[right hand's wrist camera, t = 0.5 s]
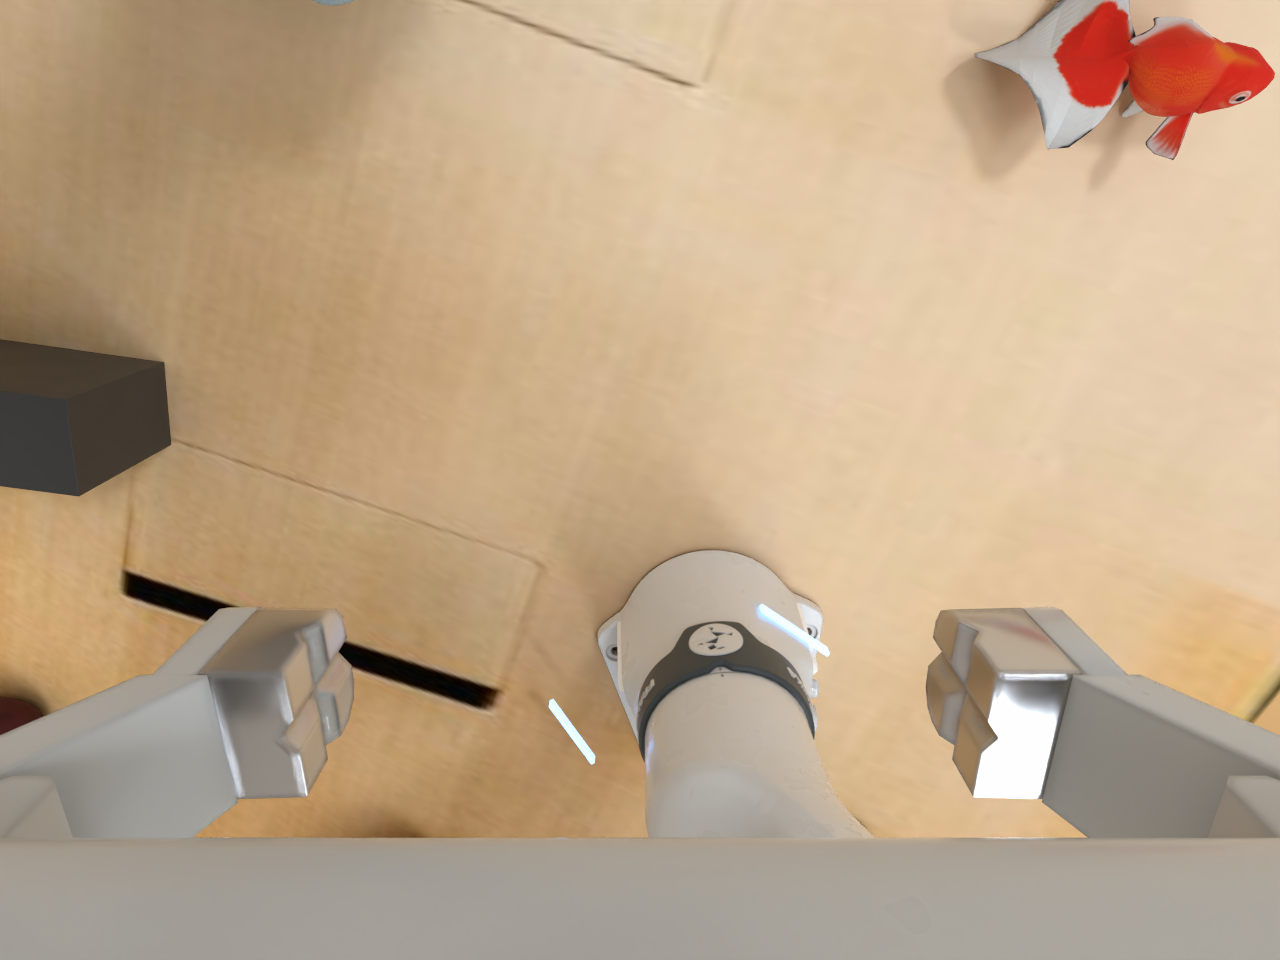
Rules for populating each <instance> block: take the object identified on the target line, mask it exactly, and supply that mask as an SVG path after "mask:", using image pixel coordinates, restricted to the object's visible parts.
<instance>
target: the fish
mask: <svg viewBox="0 0 1280 960" xmlns="http://www.w3.org/2000/svg"><path fill="white" fill-rule="evenodd" d="M1153 20H1154V23H1155V24H1154V27H1153V28H1151V29H1150V30H1148V31H1147V32H1144V33H1142V34H1140V35H1138V36H1136V35H1135V32H1134V29H1133V25H1132V22H1131V19H1130V15H1129V0H1060V1H1059V2H1058V3H1057V4H1056V5H1055V6H1054V7H1053V8H1052V9H1051V10H1050V11H1049V12H1048V13H1047V14H1045V15H1044V16H1043V17H1042V18H1041V19H1040V20H1039V21H1038V22H1037V23H1036V24H1034V25H1033V26H1032V27H1031V28H1030V29H1029V30H1028V31H1026V32H1025V33H1024V34H1023V35H1022V36H1021V37H1020V38H1018V39H1016V40H1014V41H1011V42H1009V43H1006V44H1004V45H1001V46H999V47H996V48H994V49H991V50H989V51H983V52H978V53H974V55H975V57H976V58H980V59H983V60H987V61H991V62H994V63H996V64H998V65H1000V66H1002V67H1005V68H1007V69H1009V70H1011V71H1013V72H1015V73H1017V74H1019V75H1020V76H1021V78H1022V79H1023V80H1024V82H1025V83H1026V84H1027V85H1028V87H1029V88H1030V89H1031V91H1032V94H1033V96H1034V98H1035V101H1036V103H1037V106H1038V108H1039V110H1040V115H1041V119H1042V124H1043V129H1044V134H1045V140H1046V147H1047V149H1056V148H1067V147H1070V146H1071V145H1072V144H1074V143H1075V142H1077V141H1078V140H1079V139H1081V138H1082V137H1083V136H1085V135H1086V134H1087V133H1089V132H1090V131H1091V130H1092V129H1093V128H1094V127H1095V126H1096V125H1097V124H1098V123H1099V122H1100V121H1101V120H1102V119H1103V118H1104V116H1105V115H1106V114H1107V112H1108V111H1109V110H1110V108H1111V107H1112V106H1113V104H1114V103H1115V101H1116V100H1117V98H1118V97H1119V96H1120V94H1121V93H1122V91H1123V90H1124V88H1125V87H1126V85H1127V84H1128V83H1129V88H1130V92H1131V95H1132V97H1133V99H1134V100H1133V101H1132V102H1131V103H1130V105H1129V106H1128V107H1127V109H1126V110H1125V111H1124V112H1123V114H1122V117H1128V116H1131V115H1134V114H1136V113H1139V112H1141V111H1143V110H1144V111H1145V112H1147V113H1149V114H1151V115H1155V116H1162V117H1167V119H1166V120H1165V121H1164V122H1163V123H1162V124H1161V125H1160V126H1159V128H1158V129H1157V130H1156V131H1155V132H1154V133H1153V135H1152V136H1151V137H1150V138H1149V139H1148V140H1147V141H1146V146H1147V147H1148V148H1149V149H1150V150H1151V151H1152V152H1153V153H1154V154H1156V155H1159V156H1163V157H1166V158H1169V159H1172V160H1174V158H1175V157H1176V155H1177V153H1178V151H1179V148H1180V146H1181V143H1182V141H1183V138H1184V135H1185V132H1186V129H1187V127H1188V124H1189V122H1190V119H1191V117H1192V115H1193V113H1194V112H1196V113H1198V114H1200V113H1205V112H1209V111H1213V110H1218V109H1223V108H1228V107H1231V106H1234V105H1237V104H1241V103H1243V102H1245V101H1247V100H1249V99H1251V98H1253V97H1254V96H1256V95H1257V94H1258V93H1260V92H1261V91H1262V90H1264V89H1265V88H1266V87H1267V86H1268V85H1269V83H1270V82H1271V81H1272V80H1273V79H1274V75H1275V73H1274V71H1273V69H1272V68H1271V67H1270V66H1269V64H1268V63H1267V62H1266V61H1265V59H1264V58H1263V57H1262V55H1261V54H1260V53H1259V51H1258V50H1256V49H1254V48H1252V47H1247V46H1243V45H1240V44H1236V43H1230V42H1228V43H1223V42H1222V41H1220V40H1218V39H1216V38H1214V37H1212V36H1211V35H1210V34H1209V33H1207V32H1206V31H1205V30H1204V29H1203V28H1201V27H1200V26H1199V25H1198V24H1196V23H1195V22H1194V21H1193V20H1192V19H1186V18H1180V17H1157V18H1154V19H1153ZM1134 45H1135V46H1134Z"/></svg>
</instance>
